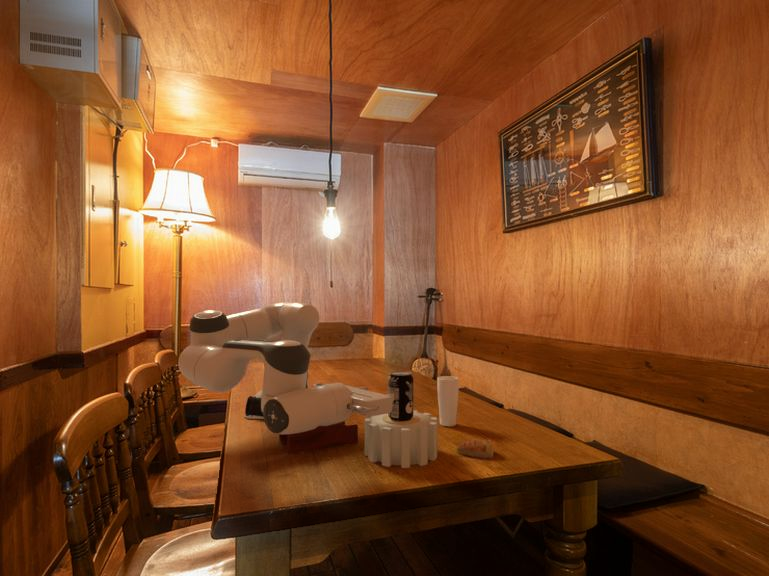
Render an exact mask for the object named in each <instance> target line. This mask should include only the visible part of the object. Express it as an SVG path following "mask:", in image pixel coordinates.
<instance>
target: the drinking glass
mask: <svg viewBox="0 0 769 576" xmlns="http://www.w3.org/2000/svg"><path fill="white" fill-rule="evenodd" d="M436 388H437V390H436V391H437V404H438V413H439V414H438V416H439V417H438V418H439V425H440V426H442V427H446V426H447V428H449V427H451V428H452V427H455V426H456V425H457V413H458V402H459V392H460V391H459V378H458V376H451V375H441V376H440V375H439V376H438V377H437V385H436Z"/></svg>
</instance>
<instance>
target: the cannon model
mask: <svg viewBox="0 0 769 576" xmlns="http://www.w3.org/2000/svg"><path fill="white" fill-rule="evenodd" d="M254 396H255V395H254ZM254 396H252V395H250V396H248V397H247V400H246V404H245V411H244V416H245V415H246V416H250V415H251V417H252V416H261V417H263V413H262V411H261V398H256V396H255V397H254ZM278 435H279V436H278V437H279V439H278V440H279V441H278V443H280V445H281V446H282V447H283V449H284V450H285V451H286V453H287V454H288V455H293V454H300V453H307V452H312V451H313V452H314V451H320V450H325V449H326V450H327V449H331V448H338V447H343V446H344V445H345V446H349V445H350V444H351V445H355V443H357V444H359V437H358V436H359V425H358V424H356V423H355V424H349V425H348V424H346V421H344V422H340V423H336V424H332V425H329V426H318V427H316V428H315V429H313V430H309V431H305V432H301V433H295V434H278Z"/></svg>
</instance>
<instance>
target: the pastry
mask: <svg viewBox="0 0 769 576" xmlns="http://www.w3.org/2000/svg"><path fill="white" fill-rule="evenodd" d="M456 451H457V453H459V454H461V455H462V456H468V457H473V458H482V459H493V457H494V448H493V443H492V440H490V439H488V440H486V439H485V440H484V439H479V438H478V439H477V438H476V439H474V440H469V441H468V440H467V441H465V442H461V443H459V444H458V445H457V447H456Z"/></svg>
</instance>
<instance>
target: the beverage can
mask: <svg viewBox="0 0 769 576" xmlns="http://www.w3.org/2000/svg"><path fill="white" fill-rule="evenodd" d="M412 374H413V373H412V372H411V371H409V370H392V371H390V373H389V376H388V378H387V380H388V381H387V382H388V383H387V387H388V388H387V389H388V390H387V391H388V392H387V393H392V394H394V401H393V407H392V411H391V412H390V413H388V416H389V417H390V419H391V420H394V421H408V420H410V419H411V418H412V417H413V410H414V377H413V375H412Z"/></svg>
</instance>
